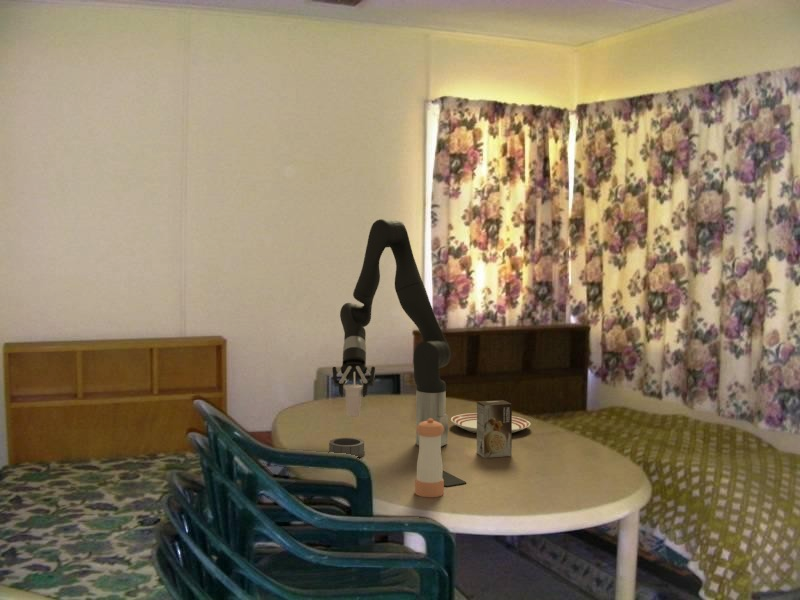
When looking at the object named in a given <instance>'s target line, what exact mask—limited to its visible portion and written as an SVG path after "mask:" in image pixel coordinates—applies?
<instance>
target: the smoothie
mask: <svg viewBox="0 0 800 600" xmlns="http://www.w3.org/2000/svg"><path fill="white" fill-rule="evenodd" d="M343 389H344V391H343V393H344V399H345V405H346V413H347V417H349V418H358V417H360V415H361V414H360V413H361V405H362V397H363V384H362V383H361V384H360V383H356V380H355V372H354V380H353V383H349V384H348V383H346V384H345V385H344V386H343Z"/></svg>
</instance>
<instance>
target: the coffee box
mask: <svg viewBox="0 0 800 600" xmlns="http://www.w3.org/2000/svg"><path fill="white" fill-rule="evenodd" d="M476 413H477V433H476V454H478V455H480V456H481V458H484V459H489V458H490V459H491V458H500V457H502V458H503V457H504V458H505V457H511V456H512V453H513V449H512V446H513V445H512V444H513V443H512V441H513V440H512V437H513V433H512V416H513V403H510V402H509V401H506V400H503V399H501V400H500V399H498V400H482V401H478V400H477V401H476Z"/></svg>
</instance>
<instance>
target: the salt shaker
mask: <svg viewBox="0 0 800 600" xmlns="http://www.w3.org/2000/svg"><path fill="white" fill-rule="evenodd" d="M416 430H417V433H418V434H419V435H420V438H419V446H418V455H417V462H416V478H415V479H414V480H415V481H414V487H415V489H414V491H415V492H414V493H415V494H416V495H417V496H419V497H422V498H438V497H441V496H443V495H444V494H445V493H444V490H445V489H444V488H445V487H444V480H443V478H442V474H443V471H444V470H443V469H444V468H443V467H444V466H443V459H442V458H443V456H442V452H441V450H442V447H441V435H442V434H443V432H444V427H443V425H442V424H441V423H439V422H437V421H434V420H433V419H431V418H429V419H428V420H427V421H423V422H421V423H419V424H418V426H417V429H416V428H415V431H416Z"/></svg>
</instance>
